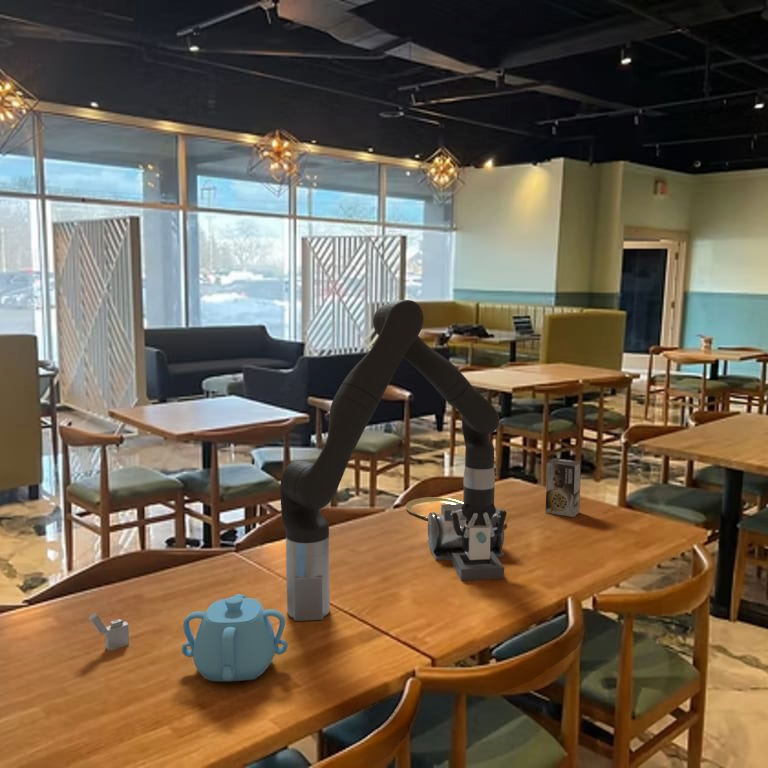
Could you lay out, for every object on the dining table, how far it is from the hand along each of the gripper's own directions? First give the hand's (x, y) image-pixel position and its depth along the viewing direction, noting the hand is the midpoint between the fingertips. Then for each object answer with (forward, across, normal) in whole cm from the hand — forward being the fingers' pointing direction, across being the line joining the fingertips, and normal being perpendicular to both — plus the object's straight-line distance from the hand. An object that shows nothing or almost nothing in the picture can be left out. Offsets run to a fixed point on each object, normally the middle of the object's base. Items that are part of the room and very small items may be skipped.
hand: (477, 550), depth 186 cm
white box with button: (+1, 0, -1) cm, 2 cm away
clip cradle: (+5, 0, +1) cm, 6 cm away
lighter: (+5, -81, -30) cm, 87 cm away
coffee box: (+6, +37, +42) cm, 56 cm away
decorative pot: (+5, -56, -40) cm, 69 cm away
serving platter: (+6, +3, +42) cm, 42 cm away
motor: (+5, 0, +14) cm, 15 cm away
